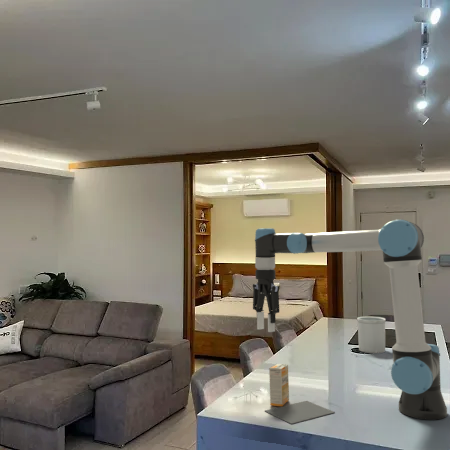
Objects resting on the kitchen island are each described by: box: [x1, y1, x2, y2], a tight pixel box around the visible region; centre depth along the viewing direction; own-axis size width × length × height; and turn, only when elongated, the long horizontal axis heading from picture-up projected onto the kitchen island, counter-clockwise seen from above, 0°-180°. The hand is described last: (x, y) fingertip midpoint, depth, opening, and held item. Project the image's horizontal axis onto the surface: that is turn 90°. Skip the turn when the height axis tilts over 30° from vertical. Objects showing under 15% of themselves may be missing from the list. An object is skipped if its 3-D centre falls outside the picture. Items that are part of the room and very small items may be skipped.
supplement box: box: [268, 363, 290, 407], centre depth 166 cm, size 8×5×13 cm, turn 155°
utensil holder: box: [356, 315, 386, 354], centre depth 252 cm, size 15×15×18 cm
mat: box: [264, 400, 335, 425], centre depth 157 cm, size 14×19×1 cm
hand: (265, 330), depth 174 cm, fingers open, 6 cm apart
